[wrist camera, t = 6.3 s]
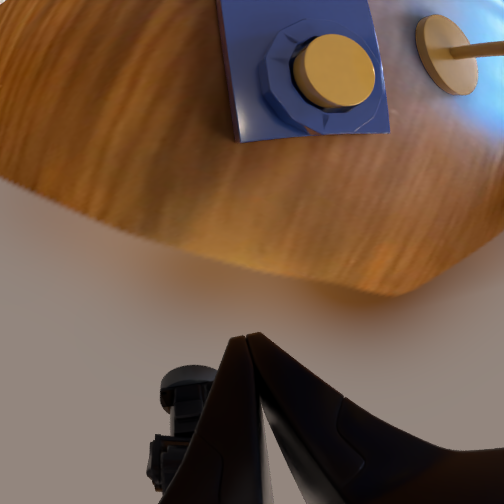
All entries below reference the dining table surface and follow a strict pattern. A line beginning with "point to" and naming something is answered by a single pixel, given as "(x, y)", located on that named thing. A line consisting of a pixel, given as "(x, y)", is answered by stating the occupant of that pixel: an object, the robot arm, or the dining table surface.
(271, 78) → the switch base
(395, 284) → the dining table surface
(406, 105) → the dining table surface
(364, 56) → the lamp switch
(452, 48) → the table lamp
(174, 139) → the dining table surface
